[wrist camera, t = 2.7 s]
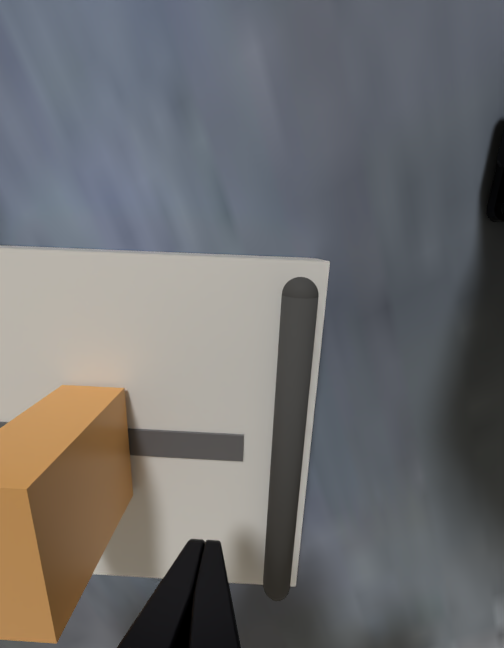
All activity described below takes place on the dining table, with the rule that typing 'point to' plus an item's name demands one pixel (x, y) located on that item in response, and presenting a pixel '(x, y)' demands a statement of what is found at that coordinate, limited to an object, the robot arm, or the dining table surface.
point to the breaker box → (165, 384)
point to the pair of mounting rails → (289, 430)
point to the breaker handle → (59, 504)
